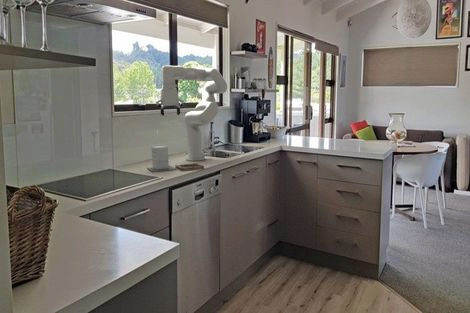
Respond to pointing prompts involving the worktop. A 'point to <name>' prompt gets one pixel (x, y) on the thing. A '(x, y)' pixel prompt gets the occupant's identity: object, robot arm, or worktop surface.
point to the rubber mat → (161, 169)
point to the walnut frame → (189, 167)
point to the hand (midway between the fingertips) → (170, 115)
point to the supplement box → (160, 157)
